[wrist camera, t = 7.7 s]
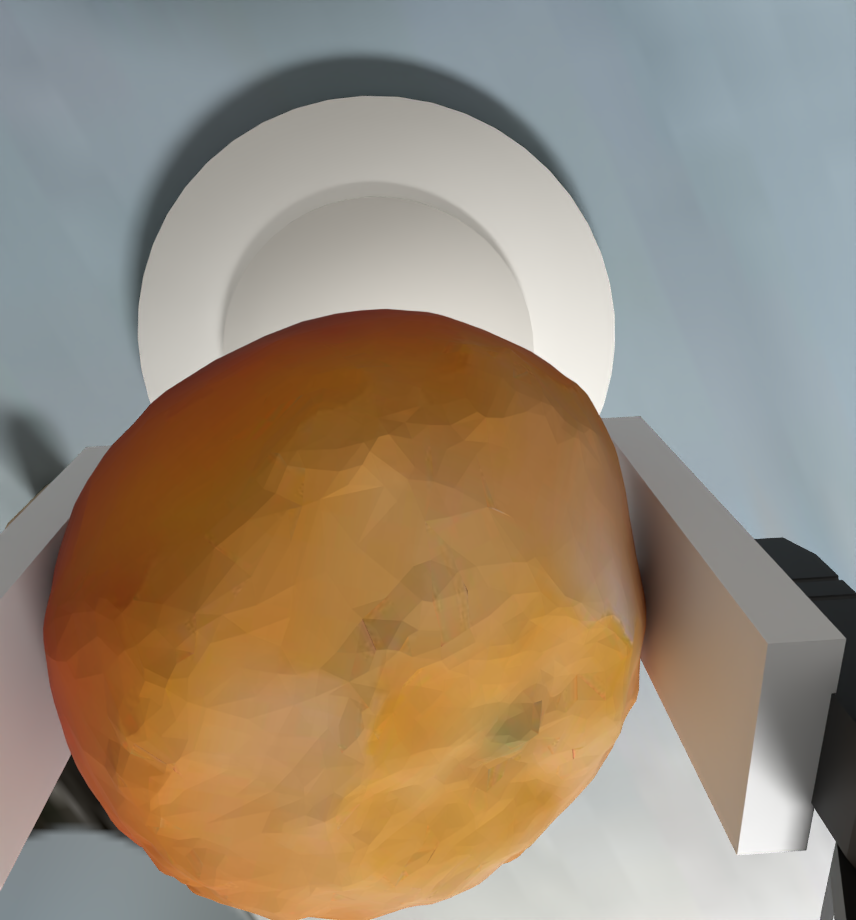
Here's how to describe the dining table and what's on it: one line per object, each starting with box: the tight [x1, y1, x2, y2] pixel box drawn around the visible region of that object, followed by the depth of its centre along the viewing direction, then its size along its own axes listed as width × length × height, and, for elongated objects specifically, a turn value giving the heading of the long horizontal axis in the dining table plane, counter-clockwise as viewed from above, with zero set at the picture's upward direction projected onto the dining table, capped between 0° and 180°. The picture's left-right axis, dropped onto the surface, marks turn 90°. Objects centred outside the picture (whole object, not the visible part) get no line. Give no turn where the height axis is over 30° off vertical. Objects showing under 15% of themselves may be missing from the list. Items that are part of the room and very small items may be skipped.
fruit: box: [43, 309, 646, 920], centre depth 11 cm, size 8×8×8 cm
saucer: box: [138, 96, 615, 415], centre depth 23 cm, size 14×14×1 cm
